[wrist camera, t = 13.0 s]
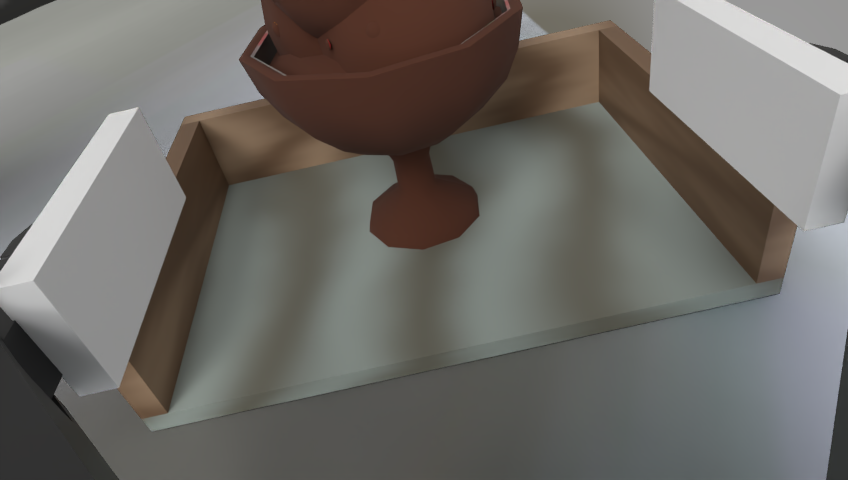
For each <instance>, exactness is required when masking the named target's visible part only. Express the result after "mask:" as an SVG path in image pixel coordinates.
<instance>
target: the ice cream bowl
mask: <svg viewBox="0 0 848 480" xmlns="http://www.w3.org/2000/svg"><path fill="white" fill-rule="evenodd" d="M261 3H262V9H263V14H264V20H265V25H264V26H262V27H261V28H260V29H259V30H258V32H257V33H256V35H255V36H254V38H253V39H252V41H251V42H250V44H249V45H248V47H247V48H246V50H245V51H244V53H243V54H242V56H241V57H240V59H239V61H240V62H241V64H242V66H243V67H244V69H245V70H246V72H247V74H248V75H249V77H250V78H251V80H252V82H253V83H254V85H255V86H256V88H257V90H258V91H259V93H260V94H261V95H262V96H263V97H264V98H265V99H266V100H267V101H268V102H269V103H270V104H271V105H272V106H273V107H274V108H275V109H276V110H277V111H278V112H279V113H280V114H281V115H282V116H283V117H285V118H286V119H287V120H289V121H290V122H292V123H293V124H295V125H296V126H298V127H299V128H300V129H302V130H303V131H305V132H306V133H308V134H309V135H311V136H312V137H314V138H315V139H317V140H319V141H321V142H324V143H326V144H328V145H330V146H332V147H335V148H337V149H339V150H341V151H344V152H350V153H356V154H363V155H389V156H390V158H391V159H392V160H393V162H394V167H395V172H396V176H397V181H398V182H397V183H395V184H393V185H392V186H390V187H389V188H388V189H387V190H386V191H385V192H383V193H382V194H381V195H380V196H379V197H378V198H376V199H375V200H374V201H373V204H372V211H371V218H370V232H371V233H372V234H373V235H374V236H376V237H377V238H378V239H379V240H380V241H382V242H383V243H384V244H385V245H387V246H388V247H394V248H407V249H421V250H424V249H427V248H430V247H433V246H436V245H439V244H441V243H444V242H447V241H450V240H453V239H456V238H459V237H460V236H461V235H462V234H463V233H464V232H465V231H466V230H467V229H468V228H469V227H470V225H471V224H472V223H473V222H474V221H475V220H476V219H477V218H478V217H479V216H480V215H479V206H478V196H477V194H476V192H475V190H474V188H473V187H472V186H470V185H468V184H467V183H465V182H463V181H462V180H460V179H458V178H456V177H455V176H453V175H438V174H434V171H433V166H432V162H431V158H430V154H429V151H430V146H433V145H436V144H439V143H440V142H442V141H443V140H444V139H446V138H447V137H449V136H450V135H452V134H453V133H454V132H455V131H456V130H457V129H459V128H460V127H461V126H462V125H463V124H464V123H466V122H467V121H468V120H469V119H470V118H471V117H472V116H474V115H475V114H476V113H477V112H478V111H479V110H481V109H482V108H483V107H484V106H485V104H486V103H487V102H488V101H489V100H490V98H491V97H492V96H493V95H494V94H495V93H496V91H497V90H498V89H499V88H500V87H501V85H502V84H503V83H504V82H505V81H506V79H507V77H508V75H509V72H510V69H511V66H512V64H513V61H514V58H515V55H516V53H517V50H518V46H519V37H520V28H521V19H522V10H523V7H522V4H521V2H520V0H261Z"/></svg>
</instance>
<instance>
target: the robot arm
mask: <svg viewBox="0 0 848 480" xmlns="http://www.w3.org/2000/svg"><path fill="white" fill-rule="evenodd" d="M651 50H652V51H651V67H650V85H649V91H650V92H651V93H652V94H653V95H654V96H655V97H656V98H658V99H659V100H660V101H661V102H662V103H663V104H664V105H665V106H666V107H667V108H669V109H670V110H671V111H672V112H673V113H674V114H675V115H676V116H677V117H678V118H680V119H681V120H682V121H683V122H684V123H685V124H686V125H687V126H688V127H689V128H691V129H692V130H693V131H694V132H695V133H696V134H697V135H698V136H699V137H700V138H702V139H703V140H704V141H705V142H706V143H707V144H708V145H709V146H710V147H711V148H713V149H714V150H715V151H716V152H717V153H718V154H719V155H720V156H721V157H722V158H723V159H725V160H726V161H727V162H728V163H729V164H730V165H731V166H732V167H733V168H734V169H736V170H737V171H738V172H739V173H740V174H741V175H742V176H743V177H744V178H745V179H747V180H748V181H749V182H750V183H751V184H752V185H753V186H754V187H755V188H756V189H758V190H759V191H760V192H761V193H762V194H763V195H764V196H765V197H766V198H767V199H769V200H770V201H771V202H772V203H773V204H774V205H775V206H776V207H777V208H778V209H780V210H781V211H782V212H783V213H784V214H785V215H786V216H787V217H788V218H789V219H790V220H792V221H793V222H794V223H795V224H796V225H797V226H798V227H799V228H800V229H801V230H803V231H808V230H813V229H817V228H821V227H826V226H830V225H835V224H839V223H843V222H844V221H845V218H846V215H847V211H848V55H846V54H844V53H842V52H840V51H838V50H836V49H833V48H829V47H824V46H820V45H815V44H811V43H807V42H804V41H803V40H801V39H799V38H797V37H795V36H793V35H791V34H789V33H787V32H785V31H783V30H781V29H779V28H777V27H775V26H774V25H772V24H770V23H768V22H765V21H764V20H762V19H760V18H758V17H756V16H754V15H752V14H750V13H748V12H746V11H744V10H742V9H740V8H738V7H736V6H734V5H732V4H730V3H728V2H726V1H725V0H654V13H653V31H652V49H651ZM185 200H186V196H185V194H184V192H183V191H182V189H181V187H180V185H179V183H178V181H177V179H176V177H175V175H174V173H173V171H172V170H171V168H170V166H169V164H168V162H167V160H166V158H165V156H164V154H163V152H162V150H161V149H160V147H159V145H158V143H157V141H156V139H155V137H154V135H153V133H152V131H151V129H150V128H149V126H148V124H147V122H146V120H145V118H144V116H143V114H142V112H141V110H140V109H139V107H137V108H133V109H129V110H124V111H120V112H116V113H111V114H109V115H108V116H107V118H106V119H105V120H104V122H103V123H102V125H101V126H100V128H99V129H98V131H97V132H96V133H95V135H94V136H93V138H92V139H91V141H90V142H89V144H88V145H87V146H86V148H85V149H84V151H83V152H82V154H81V155H80V157H79V158H78V160H77V161H76V162H75V164H74V165H73V167H72V168H71V170H70V171H69V173H68V174H67V175H66V177H65V178H64V180H63V181H62V183H61V184H60V186H59V187H58V188H57V190H56V191H55V193H54V194H53V196H52V197H51V199H50V200H49V202H48V203H47V204H46V206H45V207H44V209H43V210H42V212H41V213H40V215H39V216H38V217H37V219H36V220H35V222H34V223H33V224H31V225H30V226H29V227H28V228H27V229H25V230H24V231H23V232H22V233H21V234H19V235H18V236H17V237H16V238H15V239H14V240H12V242H11V243H10V244H9V246H8V247H7V249H6V250H5V251H4V253H3V254H2V256H1V257H0V258H1V260H0V480H119V479H118V478H117V476H116V475H115V473H114V472H113V471H112V469H111V468H110V467H109V465H108V464H107V463H106V461H105V460H104V459H103V457H102V456H101V455H100V453H99V452H98V451H97V449H96V448H95V447H94V445H93V444H92V442H91V441H90V440H89V438H88V437H87V436H86V434H85V433H84V432H83V430H82V429H81V428H80V426H79V425H78V424H77V422H76V421H75V420H74V418H73V417H72V415H71V414H70V413H69V411H68V410H67V409H66V407H65V406H64V405H63V404H62V403H61V402H60V401H59V400H58V398H57V397H56V396H55V395H54V393H55V391H56V388H57V386H58V384H59V382H60V380H61V377H63V379H64V380H65V381H66V382H67V383H68V384H69V385H70V387H71V388H72V389H73V390H74V391H75V392H76V393H77V394H78V396H79V397H81V396H85V395H90V394H94V393H98V392H103V391H107V390H111V389H116V388H119V387H120V384H121V381H122V378H123V375H124V372H125V370H126V367H127V364H128V361H129V358H130V355H131V353H132V350H133V347H134V344H135V341H136V338H137V336H138V333H139V330H140V327H141V324H142V321H143V319H144V316H145V313H146V310H147V307H148V304H149V302H150V299H151V296H152V293H153V290H154V287H155V285H156V282H157V279H158V276H159V273H160V270H161V268H162V265H163V262H164V259H165V256H166V253H167V251H168V248H169V245H170V242H171V239H172V236H173V234H174V231H175V228H176V225H177V222H178V219H179V217H180V214H181V211H182V208H183V205H184V202H185ZM826 480H848V331H847V338H846V345H845V352H844V359H843V366H842V373H841V380H840V387H839V394H838V401H837V408H836V415H835V422H834V429H833V436H832V443H831V450H830V457H829V464H828V471H827V478H826Z"/></svg>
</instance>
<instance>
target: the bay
mask: <svg viewBox="0 0 848 480" xmlns="http://www.w3.org/2000/svg"><path fill="white" fill-rule="evenodd" d="M650 67H651V53H650V52H649V51H648V50H646V49H645V48H644V47H643V46H641V45H640V44H639V43H638V42H636V41H635V40H634V39H633V38H631V37H630V36H629V35H628V34H627V33H625V32H624V31H623V30H622V29H621V28H619V27H618V26H617V25H616V24H614V23H613V22H612V21H611V20H609V21H604V22H600V23H596V24H591V25H587V26H582V27H578V28H574V29H569V30H565V31H560V32H556V33H552V34H547V35H543V36H538V37H534V38H530V39H525V40H521V41H519V46H518V50H517V53H516V55H515V58H514V61H513V64H512V66H511V69H510V72H509V75H508V77H507V79H506V81H505V82H504V83H503V84H502V85H501V87H500V88H499V89H498V90H497V91H496V93H495V94H494V95H493V96H492V97H491V98H490V100H489V101H488V102H487V103H486V104H485V106H484V107H483V108H482V109H481V110H479V111H478V112H477V113H476V114H475V115H474V116H472V117H471V118H470V119H469V120H468V121H467V122H466V123H464V124H463V125H462V126H461V127H460V128H459V129H457V130H456V131H455V132H454V133H453V134H452V135H450V136H449V137H447V138H446V139H444V140H443V141H442V142H440V143H439V144H436V145H433V146H430V151H429V154H430V158H431V162H432V166H433V171H434V174H438V175H453V176H455V177H456V178H458V179H460V180H462V181H463V182H465V183H467V184H468V185H470V186H472V187H473V188H474V190H475V192H476V194H477V196H478V206H479V215H480V216H479V217H478V218H477V219H476V220H475V221H474V222H473V223H472V224H471V225H470V227H469V228H468V229H467V230H466V231H465V232H464V233H463V234H462V235H461V236H460V237H459V238H456V239H453V240H450V241H447V242H444V243H441V244H439V245H436V246H433V247H430V248H427V249H424V250H421V249H407V248H394V247H388V246H387V245H385V244H384V243H383V242H382V241H380V240H379V239H378V238H377V237H376V236H374V235H373V234H372V233H371V232H370V218H371V211H372V204H373V201H374V200H375V199H376V198H378V197H379V196H380V195H381V194H382V193H383V192H385V191H386V190H387V189H388V188H389V187H390V186H392V185H393V184H395V183H397V182H398V181H397V176H396V172H395V167H394V162H393V160H392V159H391V158H390V156H389V155H363V154H356V153H350V152H344V151H341V150H339V149H337V148H335V147H332V146H330V145H328V144H326V143H324V142H321V141H319V140H317V139H315V138H314V137H312V136H311V135H309V134H308V133H306V132H305V131H303V130H302V129H300V128H299V127H298V126H296V125H295V124H293V123H292V122H290V121H289V120H287V119H286V118H285V117H283V116H282V115H281V114H280V113H279V112H278V111H277V110H276V109H275V108H274V107H273V106H272V105H271V104H270V103H269V102H268V101H267V100H266V99H261V100H257V101H253V102H248V103H244V104H239V105H235V106H231V107H226V108H222V109H217V110H213V111H209V112H204V113H200V114H195V115H191V116H187V117H185V118H184V120H183V122H182V124H181V126H180V129H179V131H178V133H177V135H176V137H175V139H174V142H173V144H172V146H171V148H170V150H169V152H168V155H167V157H166V160H167V162H168V164H169V166H170V168H171V170H172V171H173V173H174V175H175V177H176V179H177V181H178V183H179V185H180V187H181V189H182V191H183V192H184V194H185V196H186V200H185V202H184V205H183V208H182V211H181V214H180V217H179V219H178V222H177V225H176V228H175V231H174V234H173V236H172V239H171V242H170V245H169V248H168V251H167V253H166V256H165V259H164V262H163V265H162V268H161V270H160V273H159V276H158V279H157V282H156V285H155V287H154V290H153V293H152V296H151V299H150V302H149V304H148V307H147V310H146V313H145V316H144V319H143V321H142V324H141V327H140V330H139V333H138V336H137V338H136V341H135V344H134V347H133V350H132V353H131V355H130V358H129V361H128V364H127V367H126V370H125V372H124V375H123V378H122V381H121V384H120V387H119V388H117V389H118V390H119V392H120V393H121V394H122V395H123V397H124V398H125V399H126V400H127V402H128V403H129V404H130V405H131V407H132V408H133V409H134V410H135V412H136V413H137V414H138V415H139V417H140V418H141V419H142V420H143V421H144V423H145V424H146V425H147V426H148V428H149V429H150V430H151V431H156V430H161V429H166V428H170V427H175V426H179V425H184V424H188V423H193V422H197V421H202V420H206V419H211V418H216V417H220V416H225V415H229V414H234V413H238V412H243V411H247V410H252V409H257V408H261V407H266V406H270V405H275V404H279V403H284V402H288V401H293V400H297V399H302V398H307V397H311V396H316V395H320V394H325V393H329V392H334V391H338V390H343V389H347V388H352V387H357V386H361V385H366V384H370V383H375V382H379V381H384V380H388V379H393V378H397V377H402V376H407V375H411V374H416V373H420V372H425V371H429V370H434V369H438V368H443V367H448V366H452V365H457V364H461V363H466V362H470V361H475V360H479V359H484V358H488V357H493V356H498V355H502V354H507V353H511V352H516V351H520V350H525V349H529V348H534V347H538V346H543V345H548V344H552V343H557V342H561V341H566V340H570V339H575V338H579V337H584V336H588V335H593V334H598V333H602V332H607V331H611V330H616V329H620V328H625V327H629V326H634V325H639V324H643V323H648V322H652V321H657V320H661V319H666V318H670V317H675V316H679V315H684V314H689V313H693V312H698V311H702V310H707V309H711V308H716V307H720V306H725V305H729V304H734V303H739V302H743V301H748V300H752V299H757V298H761V297H766V296H770V295H775V294H779V293H780V290H781V286H782V282H783V278H784V274H785V271H786V267H787V263H788V259H789V255H790V251H791V248H792V244H793V240H794V236H795V232H796V229H797V225H796V224H795V223H794V222H793V221H792V220H790V219H789V218H788V217H787V216H786V215H785V214H784V213H783V212H782V211H781V210H780V209H778V208H777V207H776V206H775V205H774V204H773V203H772V202H771V201H770V200H769V199H767V198H766V197H765V196H764V195H763V194H762V193H761V192H760V191H759V190H758V189H756V188H755V187H754V186H753V185H752V184H751V183H750V182H749V181H748V180H747V179H745V178H744V177H743V176H742V175H741V174H740V173H739V172H738V171H737V170H736V169H734V168H733V167H732V166H731V165H730V164H729V163H728V162H727V161H726V160H725V159H723V158H722V157H721V156H720V155H719V154H718V153H717V152H716V151H715V150H714V149H713V148H711V147H710V146H709V145H708V144H707V143H706V142H705V141H704V140H703V139H702V138H700V137H699V136H698V135H697V134H696V133H695V132H694V131H693V130H692V129H691V128H689V127H688V126H687V125H686V124H685V123H684V122H683V121H682V120H681V119H680V118H678V117H677V116H676V115H675V114H674V113H673V112H672V111H671V110H670V109H669V108H667V107H666V106H665V105H664V104H663V103H662V102H661V101H660V100H659V99H658V98H656V97H655V96H654V95H653V94H652V93H651V92H650V91H649V85H650Z"/></svg>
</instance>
